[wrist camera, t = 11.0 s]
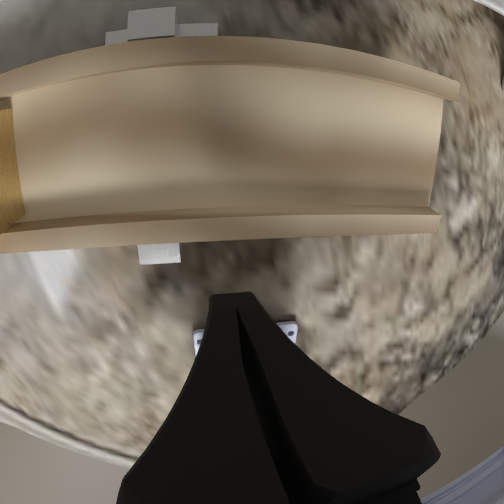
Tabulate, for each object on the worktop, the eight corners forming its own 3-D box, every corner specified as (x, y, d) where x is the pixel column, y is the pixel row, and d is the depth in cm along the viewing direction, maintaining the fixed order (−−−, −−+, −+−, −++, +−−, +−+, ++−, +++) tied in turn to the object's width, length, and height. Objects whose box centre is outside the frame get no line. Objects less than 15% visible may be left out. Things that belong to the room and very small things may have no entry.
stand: (215, 225, 19) (221, 261, 15) (120, 231, 18) (102, 268, 14) (216, 27, 14) (224, 3, 10) (110, 35, 13) (84, 17, 9)
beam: (406, 213, 17) (436, 234, 14) (-41, 237, 13) (-67, 260, 10) (423, 78, 13) (460, 81, 11) (-61, 111, 9) (-92, 119, 6)
